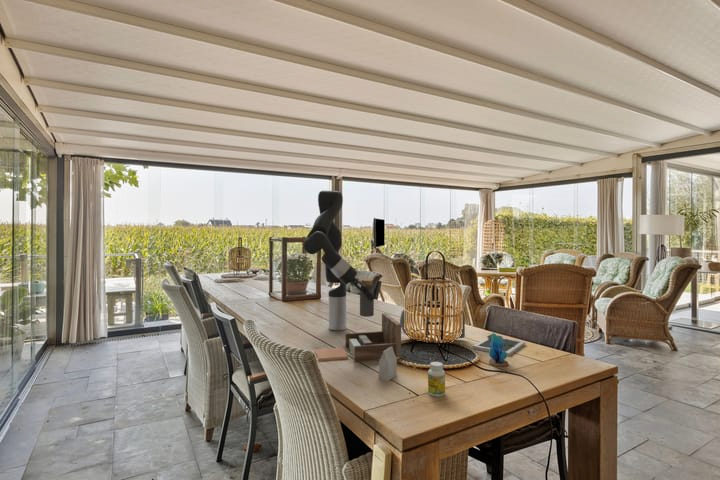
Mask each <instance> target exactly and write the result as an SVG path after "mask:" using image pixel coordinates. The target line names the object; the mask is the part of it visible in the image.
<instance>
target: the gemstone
mask: <svg viewBox="0 0 720 480" xmlns="http://www.w3.org/2000/svg"><path fill="white" fill-rule="evenodd" d="M491 334H492V339H491V344H490V345H491V348H490V350H489V352H488V356H489V357H490V358H489V359H488V364H490V365H491V366H494V367H499V368H502V367H507V366H508V365H509V362H508V361H507V360H506V358H507V356H506V352H505V350H504V351H503V346H504V341H503V340H502V339H501V338H500V337H498V336H499V335H497V334H496V333H495V332H492V333H491ZM502 351H503V352H502Z"/></svg>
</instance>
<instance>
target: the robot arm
mask: <svg viewBox="0 0 720 480" xmlns="http://www.w3.org/2000/svg"><path fill="white" fill-rule="evenodd" d="M343 199H344V198H343V194H342V192H341V191H339V190H320V191H319V192H318V197H317V203H318V204H317V205H318V210H319V215H318V216H317V217H316V218H315V220H314V223H313V225H312V228H311V230H310V231H309V232H308V234H307V236H306V237H305V239H304V241H303V249H304V250H305V252H306V253H307V254H309V255H314V254H317V253H319V252H320V251H321V250H322V251H323V254H322V256H321V257H320V258H321V259H320V260H321V262H322V263H323V264H324V266H325V267H324V268H325V270H324V271H325V279H326V281H327V283H330V284H331V283H332V284H339V285H338V286H337V287H334V288H332V289H329V290H328V329H329V330H331V331H344V330H347V285H348V284H350V286H351V287H353V288H354V290H356V291H358V292H359V293H360V292H362V293H363V295H365V296H366V297H367V298H368V299H369V300H370V301H372V300H373V299H374V300H375V295H374V296H373V295H372V294H371V293H370V292H369V290H368V289H367V288H366V287H365V285H364V284H363V283H362V281H361V279H359V277H356V276H357V275H358V272H357V270H356V268H354V266H352V265H351V264H350V263H349V261H347V260H346V259H345V258H343V257H342V256H341V255H340V254H339V251H340V249H341V248H342V245H343V243H342V242H343V241H342V233H341V229H339V227H338V226H337V224H336V223H335V222H334V220H335V218H336V217H337V215H338V214H339V212H340V211H341V209H342V206H343V201H344V200H343ZM363 289H365V291H364V292H363Z"/></svg>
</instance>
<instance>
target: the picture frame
mask: <svg viewBox="0 0 720 480" xmlns="http://www.w3.org/2000/svg"><path fill="white" fill-rule="evenodd" d="M492 334H493V333H491V334H489V335H487V336H486V338H484V339H483V340H481V341H479V342H477V343H476V344H473V345H472V350H476V351H482V352H486V353H489V350H490V348H491V345H490V344H491V339H492ZM497 336H498V337H500V338H501V339H502V340H503V341H504V346H503V351H504V350H505V352H506V357H510V356H512V355H513V354H515V353H516V352H518V350H521V348H523V347H525V346H526V342H525V341H521V340H517V339H511V338H506V337H503V336H501V335H497ZM503 351H502V352H503Z"/></svg>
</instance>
